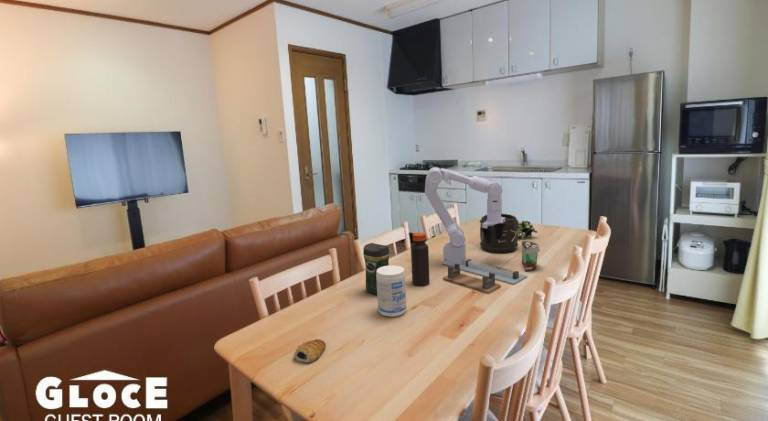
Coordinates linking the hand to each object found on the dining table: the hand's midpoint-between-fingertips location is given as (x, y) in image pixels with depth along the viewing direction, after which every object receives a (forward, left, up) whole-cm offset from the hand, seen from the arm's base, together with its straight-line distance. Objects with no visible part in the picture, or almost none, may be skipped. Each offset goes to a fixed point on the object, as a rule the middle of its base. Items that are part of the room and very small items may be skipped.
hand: (493, 241), depth 167 cm
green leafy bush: (-10, +43, -11) cm, 45 cm away
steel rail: (+5, -10, -10) cm, 15 cm away
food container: (+14, +6, -11) cm, 19 cm away
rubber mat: (+5, -10, -10) cm, 15 cm away
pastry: (+1, -93, -11) cm, 94 cm away
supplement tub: (-1, -60, -11) cm, 61 cm away
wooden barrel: (-10, +20, -11) cm, 25 cm away
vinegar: (-10, -36, -11) cm, 39 cm away
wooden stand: (+5, -24, -10) cm, 27 cm away
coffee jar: (-17, -52, -11) cm, 56 cm away
